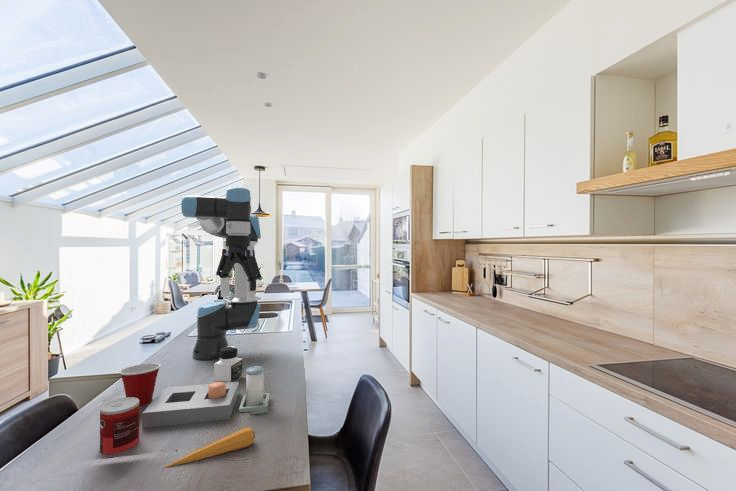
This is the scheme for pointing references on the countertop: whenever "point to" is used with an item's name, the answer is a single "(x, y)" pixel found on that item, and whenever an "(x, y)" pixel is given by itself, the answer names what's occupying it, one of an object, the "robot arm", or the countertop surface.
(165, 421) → the housing
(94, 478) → the countertop surface
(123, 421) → the canned food
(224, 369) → the medicine bottle
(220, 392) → the plunger
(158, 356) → the countertop surface
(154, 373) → the plastic cup
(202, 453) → the carrot
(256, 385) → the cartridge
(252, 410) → the tray
